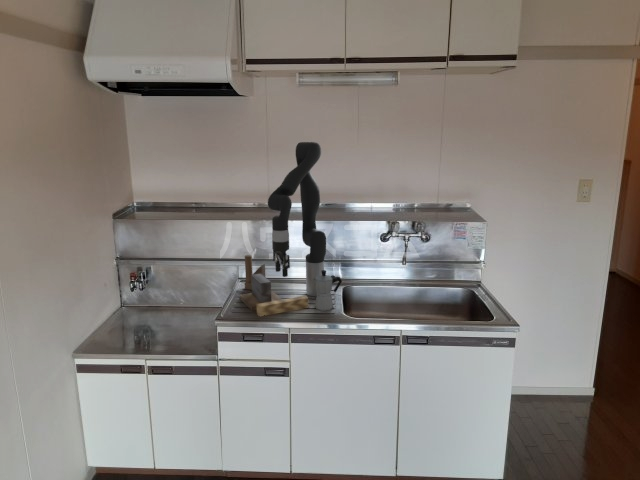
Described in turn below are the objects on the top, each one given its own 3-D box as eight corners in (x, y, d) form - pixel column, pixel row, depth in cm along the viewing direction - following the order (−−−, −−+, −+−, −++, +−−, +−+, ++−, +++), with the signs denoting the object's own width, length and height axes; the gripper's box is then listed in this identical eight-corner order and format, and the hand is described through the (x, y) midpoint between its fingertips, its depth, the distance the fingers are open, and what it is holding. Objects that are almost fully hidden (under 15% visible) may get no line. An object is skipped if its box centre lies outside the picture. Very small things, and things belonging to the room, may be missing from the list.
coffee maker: (312, 311, 223) (311, 274, 218) (309, 304, 231) (308, 268, 227) (344, 309, 226) (344, 272, 221) (339, 302, 234) (339, 266, 230)
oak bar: (305, 305, 231) (305, 295, 230) (308, 308, 228) (308, 298, 227) (256, 314, 222) (256, 304, 220) (259, 317, 219) (258, 306, 217)
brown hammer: (262, 291, 249) (261, 258, 245) (244, 289, 253) (242, 256, 249) (266, 289, 252) (264, 256, 248) (248, 287, 256) (246, 254, 252)
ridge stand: (270, 293, 247) (269, 270, 244) (284, 305, 231) (283, 281, 228) (240, 298, 240) (238, 275, 237) (251, 311, 224) (250, 286, 221)
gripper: (294, 241, 212) (295, 277, 216) (282, 235, 224) (283, 268, 228) (278, 243, 209) (279, 279, 213) (267, 236, 221) (268, 270, 225)
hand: (281, 273), depth 220 cm, fingers open, 8 cm apart
